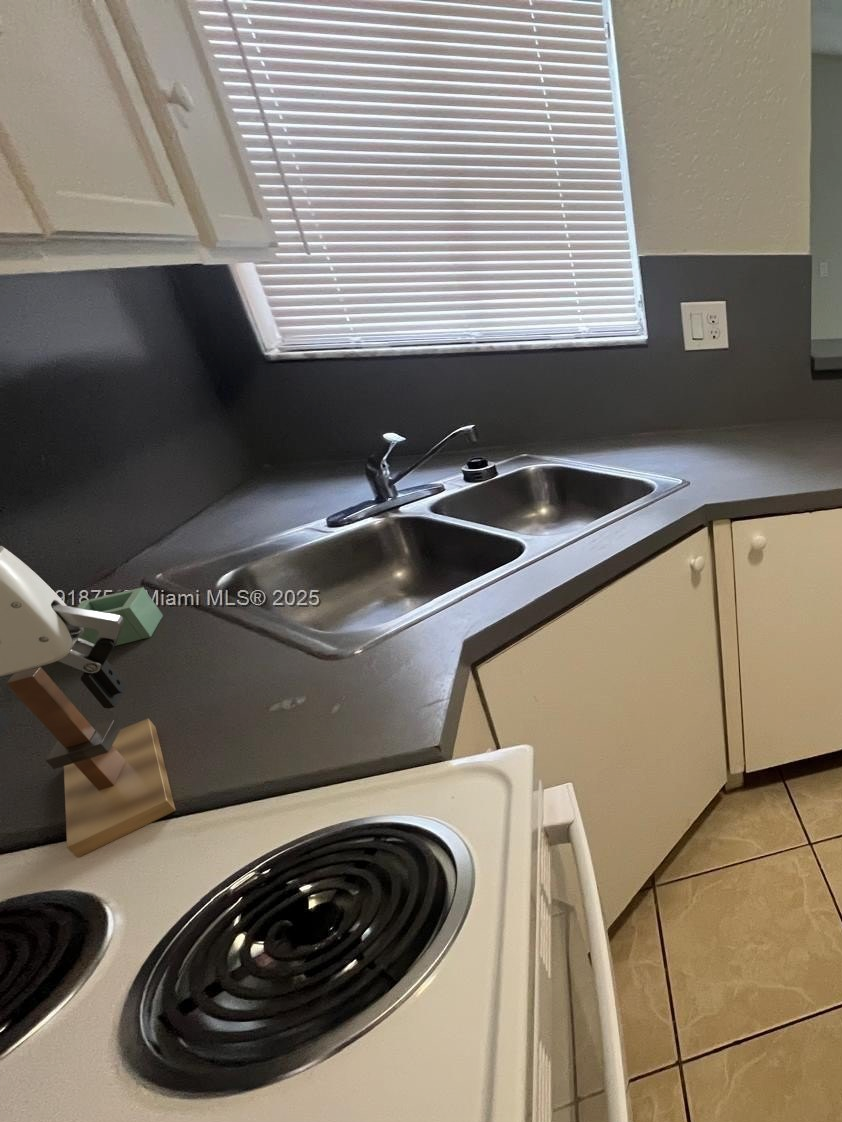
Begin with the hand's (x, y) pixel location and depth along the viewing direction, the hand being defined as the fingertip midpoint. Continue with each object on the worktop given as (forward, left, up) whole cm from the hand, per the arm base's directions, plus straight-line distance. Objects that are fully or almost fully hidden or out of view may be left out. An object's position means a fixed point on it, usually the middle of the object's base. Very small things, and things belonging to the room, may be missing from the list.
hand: (58, 715), depth 60 cm
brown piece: (0, 0, -8) cm, 8 cm away
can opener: (-13, +51, -10) cm, 54 cm away
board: (0, 0, -10) cm, 10 cm away
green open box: (-8, +39, -10) cm, 41 cm away
